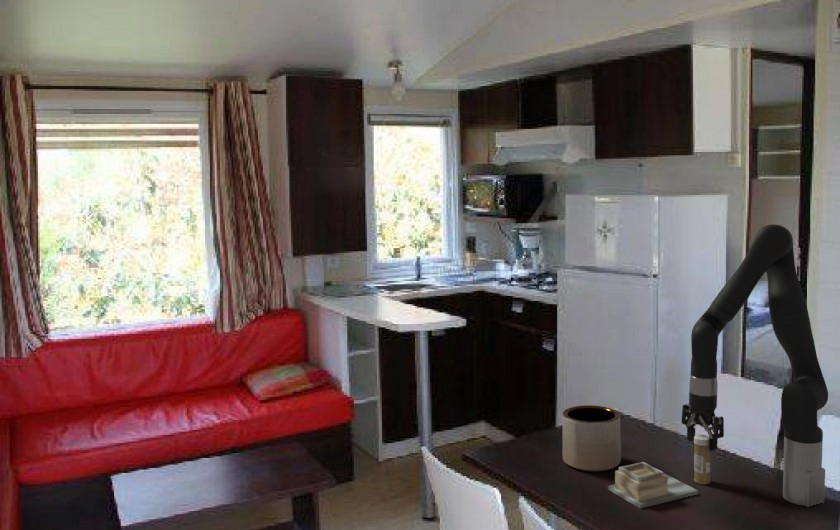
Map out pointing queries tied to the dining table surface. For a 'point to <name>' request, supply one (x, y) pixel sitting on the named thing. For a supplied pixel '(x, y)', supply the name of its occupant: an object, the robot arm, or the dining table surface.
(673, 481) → the build base
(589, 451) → the planter
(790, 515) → the dining table surface
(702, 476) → the sprinkles bottle
